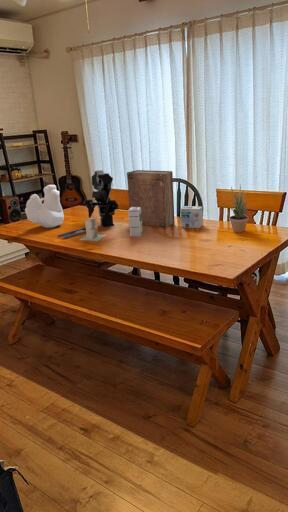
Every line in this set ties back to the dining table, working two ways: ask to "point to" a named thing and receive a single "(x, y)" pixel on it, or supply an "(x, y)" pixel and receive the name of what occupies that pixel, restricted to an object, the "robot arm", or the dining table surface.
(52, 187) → the decorative rooster
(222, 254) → the dining table surface
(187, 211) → the light bulb box
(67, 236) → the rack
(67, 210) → the dining table surface
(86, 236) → the mat
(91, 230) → the beige rectangular block
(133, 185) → the book
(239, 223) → the potted plant
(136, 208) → the syrup box
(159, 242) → the dining table surface
